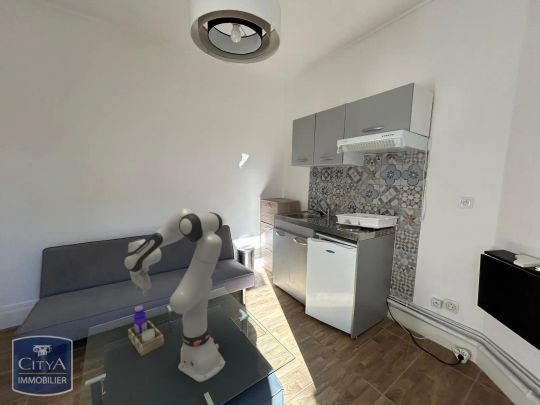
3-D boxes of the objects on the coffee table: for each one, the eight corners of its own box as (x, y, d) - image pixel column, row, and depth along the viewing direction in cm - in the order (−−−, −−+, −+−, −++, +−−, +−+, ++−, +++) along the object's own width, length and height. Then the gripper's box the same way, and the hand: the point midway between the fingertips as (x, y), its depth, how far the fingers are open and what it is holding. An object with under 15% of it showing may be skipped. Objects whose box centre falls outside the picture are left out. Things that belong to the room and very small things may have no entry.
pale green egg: (157, 344, 121) (156, 332, 121) (145, 351, 117) (143, 338, 116) (153, 339, 125) (151, 327, 125) (141, 345, 121) (139, 332, 120)
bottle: (149, 336, 128) (147, 306, 126) (138, 342, 123) (135, 311, 122) (144, 331, 132) (141, 302, 131) (133, 337, 128) (130, 307, 126)
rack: (164, 345, 122) (163, 335, 121) (141, 357, 114) (140, 346, 113) (150, 329, 135) (149, 320, 135) (129, 339, 127) (127, 329, 127)
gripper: (152, 271, 121) (155, 296, 122) (139, 262, 135) (141, 285, 136) (139, 275, 116) (142, 301, 118) (127, 266, 130) (129, 289, 132)
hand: (141, 292), depth 127 cm, fingers open, 8 cm apart
